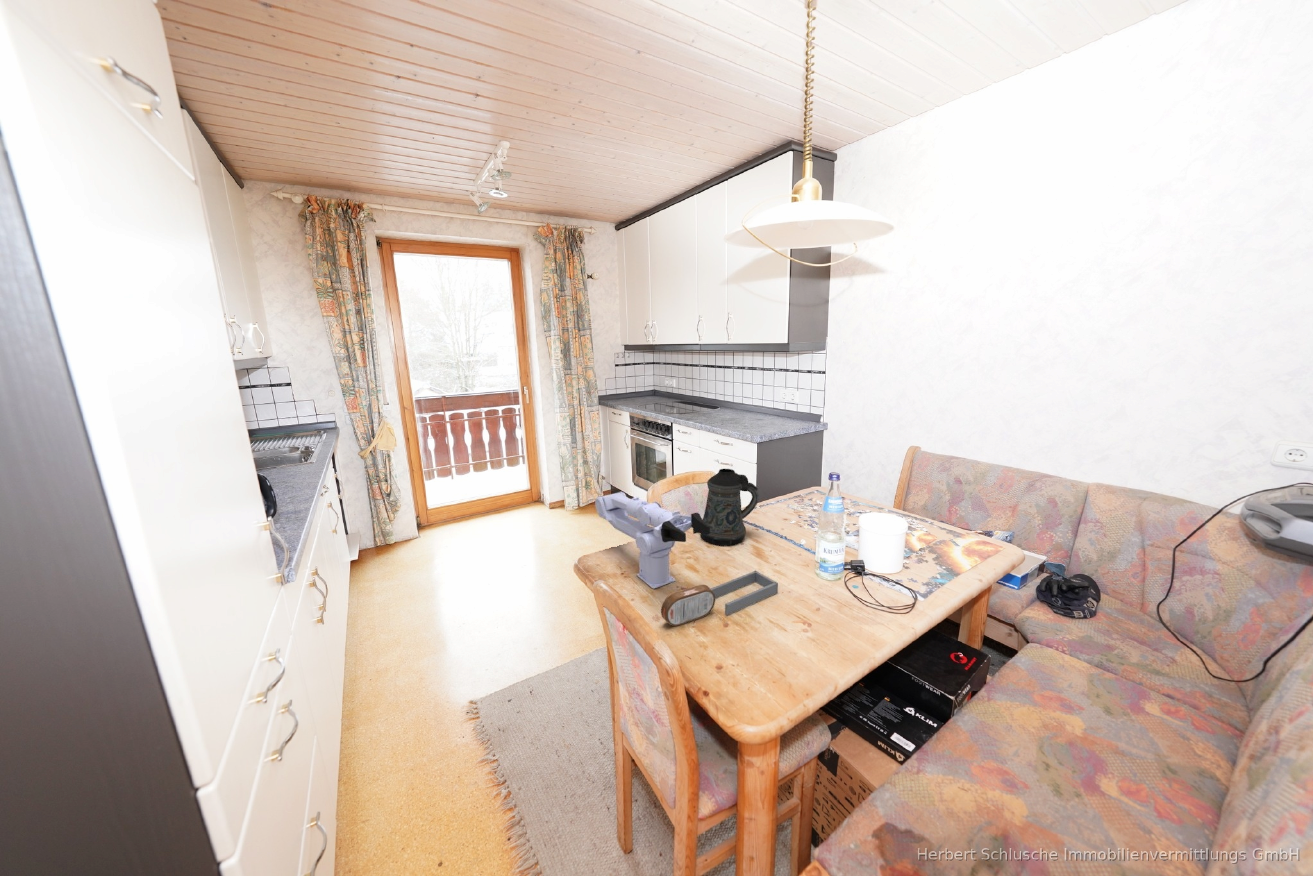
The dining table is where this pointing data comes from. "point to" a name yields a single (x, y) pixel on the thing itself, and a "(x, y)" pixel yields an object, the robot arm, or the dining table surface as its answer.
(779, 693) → the dining table surface
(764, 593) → the pocket
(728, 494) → the beer stein
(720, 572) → the dining table surface
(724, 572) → the dining table surface
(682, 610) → the tin
